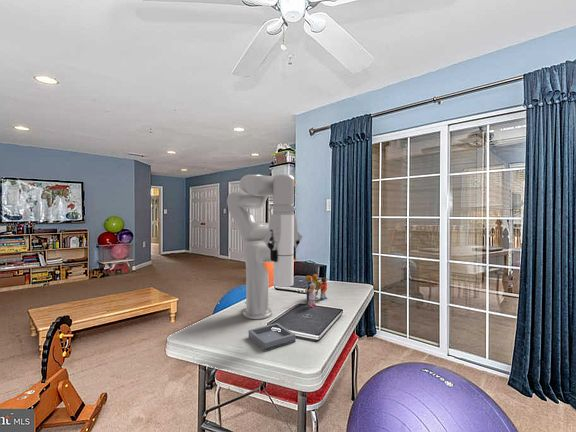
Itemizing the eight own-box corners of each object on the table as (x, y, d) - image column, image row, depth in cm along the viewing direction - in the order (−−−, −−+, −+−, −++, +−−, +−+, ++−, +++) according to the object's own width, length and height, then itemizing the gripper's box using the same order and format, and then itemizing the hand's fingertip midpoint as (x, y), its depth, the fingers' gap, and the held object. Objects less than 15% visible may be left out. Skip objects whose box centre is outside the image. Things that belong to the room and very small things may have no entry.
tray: (248, 337, 106) (248, 330, 106) (277, 329, 112) (277, 322, 112) (264, 351, 96) (264, 343, 96) (295, 341, 102) (295, 334, 102)
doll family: (312, 310, 133) (312, 281, 132) (293, 306, 138) (293, 278, 137) (329, 297, 151) (329, 271, 151) (312, 294, 156) (312, 269, 156)
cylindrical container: (292, 281, 110) (292, 213, 109) (294, 286, 103) (294, 214, 102) (273, 281, 109) (273, 213, 108) (273, 287, 102) (273, 214, 101)
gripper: (296, 209, 113) (296, 256, 114) (256, 210, 103) (256, 261, 104) (309, 210, 107) (308, 259, 108) (268, 210, 97) (268, 264, 98)
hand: (283, 259), depth 106 cm, fingers closed on cylindrical container, 7 cm apart
